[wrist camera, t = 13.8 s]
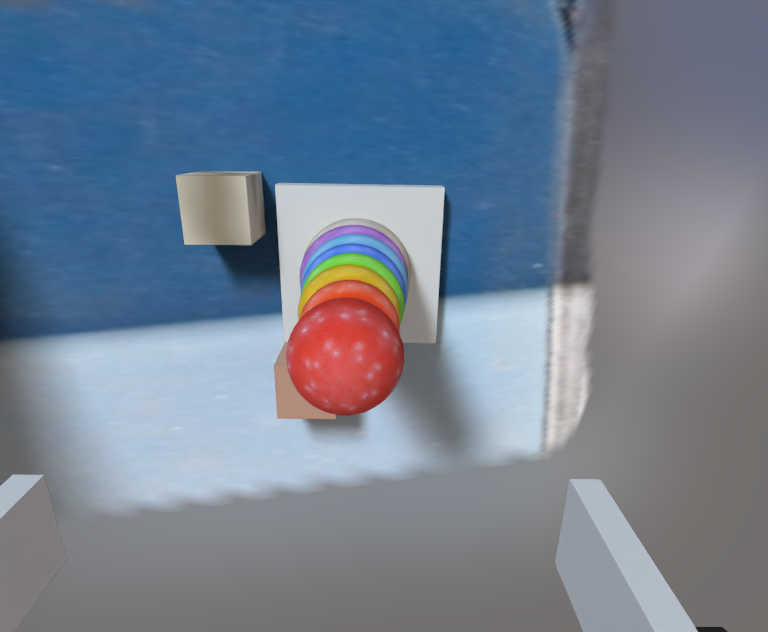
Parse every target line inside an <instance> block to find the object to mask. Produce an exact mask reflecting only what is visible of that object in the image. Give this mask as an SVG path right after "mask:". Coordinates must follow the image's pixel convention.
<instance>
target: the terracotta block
mask: <svg viewBox="0 0 768 632" xmlns="http://www.w3.org/2000/svg"><path fill="white" fill-rule="evenodd" d="M287 345H288V342H285V344H284V346H283V348H282V350H281V352H280V354H279V356H278V358H277V361H276V363H275V365H274V373H275V388H276V404H277V418H282V419H336V414H330V413H327V412H324V411H322V410H320V409H318V408H316V407H314V406H312V405H311V404H310V403H308V402H307V401H306V400H305V399H304V398H303V397H302V396H301V395H300V394H299V393H298V391H297V390H296V388H295V387H294V385H293V383H292V380H291V378H290V375H289V373H288V369H287V362H286V351H287Z"/></svg>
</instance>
